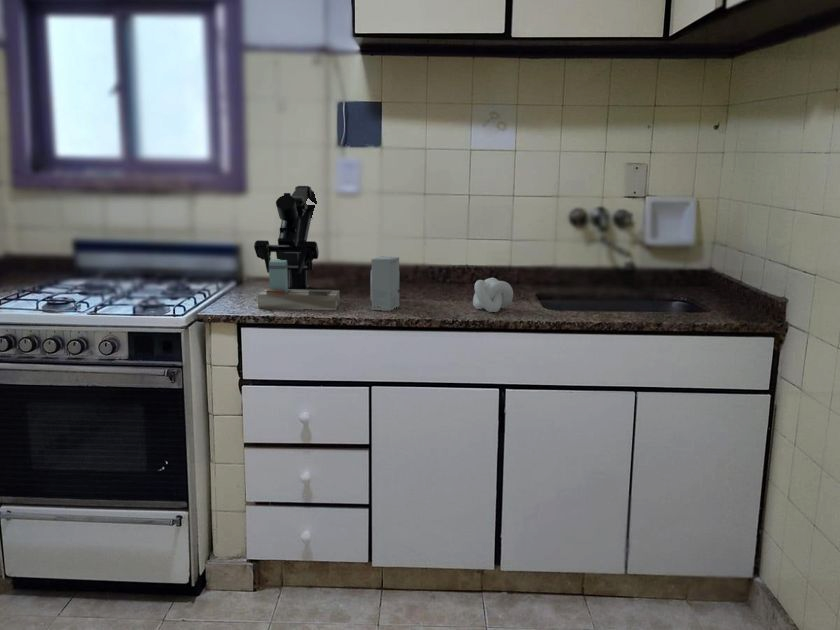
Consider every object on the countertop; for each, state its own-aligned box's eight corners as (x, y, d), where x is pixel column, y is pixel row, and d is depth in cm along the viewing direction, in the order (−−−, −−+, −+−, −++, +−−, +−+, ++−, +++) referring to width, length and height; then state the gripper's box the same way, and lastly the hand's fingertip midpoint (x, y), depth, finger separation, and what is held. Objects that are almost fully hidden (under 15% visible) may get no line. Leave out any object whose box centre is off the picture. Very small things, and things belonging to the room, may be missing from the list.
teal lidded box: (272, 302, 224) (271, 259, 221) (288, 302, 224) (287, 260, 221) (269, 305, 219) (268, 262, 217) (286, 305, 219) (285, 262, 217)
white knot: (510, 306, 226) (511, 276, 224) (514, 314, 214) (516, 283, 213) (472, 305, 226) (473, 276, 224) (474, 314, 214) (475, 282, 213)
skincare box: (390, 312, 215) (390, 259, 212) (370, 310, 217) (370, 258, 214) (400, 306, 223) (400, 256, 220) (380, 305, 225) (381, 255, 222)
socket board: (265, 301, 227) (265, 284, 226) (339, 303, 226) (339, 286, 225) (258, 308, 217) (257, 290, 216) (335, 310, 216) (335, 292, 215)
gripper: (322, 247, 241) (317, 288, 233) (264, 246, 242) (257, 287, 234) (318, 225, 232) (313, 267, 224) (257, 224, 232) (249, 265, 224)
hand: (283, 272), depth 227 cm, fingers open, 9 cm apart
